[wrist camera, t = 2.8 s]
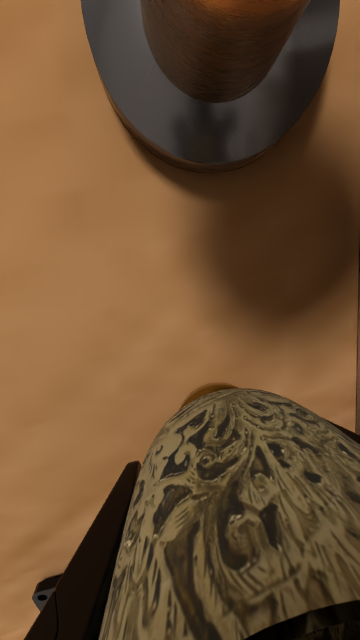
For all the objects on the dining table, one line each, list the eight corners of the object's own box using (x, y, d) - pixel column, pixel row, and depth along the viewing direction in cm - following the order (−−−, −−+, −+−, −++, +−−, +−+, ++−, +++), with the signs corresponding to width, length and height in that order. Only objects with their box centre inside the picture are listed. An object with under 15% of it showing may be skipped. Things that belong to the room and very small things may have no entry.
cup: (310, 345, 10) (941, 690, 2) (269, 475, 11) (503, 929, 4) (141, 325, 9) (-19, 864, 1) (125, 471, 10) (26, 1069, 3)
